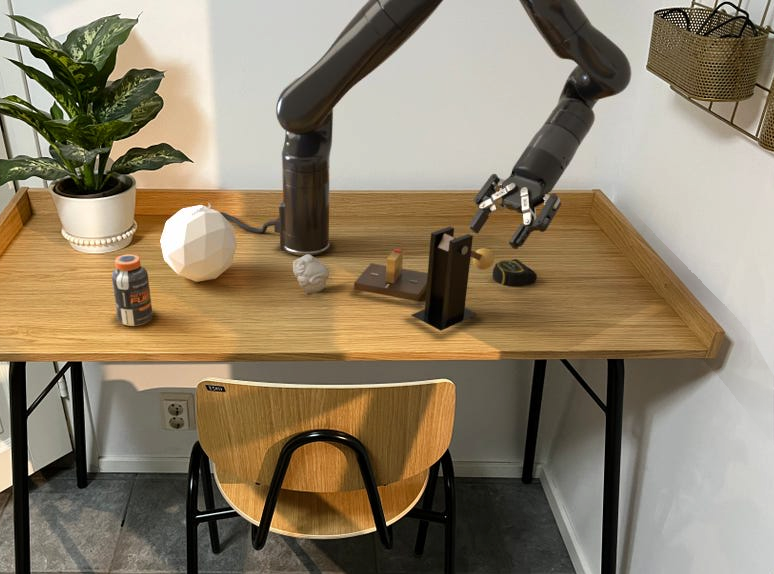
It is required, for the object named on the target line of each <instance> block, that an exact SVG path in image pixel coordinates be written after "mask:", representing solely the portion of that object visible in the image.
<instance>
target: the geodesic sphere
mask: <svg viewBox="0 0 774 574" xmlns="http://www.w3.org/2000/svg"><path fill="white" fill-rule="evenodd" d="M211 207H212V206H211V204H209V205H208V206H206V205H203V204H199V205H194V206H188V207H184V208H181V209H180V210H178V211H177V212H176V213H175V214H173V215H172V216H171V217H170V218H169V219H167V221H166V222H165V224H164V228H163V231H162V234H161V237H160V240H159V241H160V246H161V251H162V257H163V260H164V261H165V263H166V264H167V265H168V266H169V267H170V268H171V269H172V270H173V271H174V272H175V273H176V274H177V276H180V277H183V278H185V279H189V280H191V281H192V282H193V281H194V282H196V283H198V282H199V283H200V282H203V281H210V280H215V279H217V278H218V277H219V276H220V275H222V274H223V273H224V272H226V271H227V270H228V269H229V268H230V267H231V266H232V265H233V264H232V263H233V261H234V260H233V259H234V257H235V253H236V250H237V240H236V235H235V234H236V233H235V227H234V226H233V225H232V224H231V223H230V221H229V220H228V219H226V218H225V217H224V216H223V215H222V214H221V213H220V212H221V211H218V210H216V209H213V208H211Z"/></svg>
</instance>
